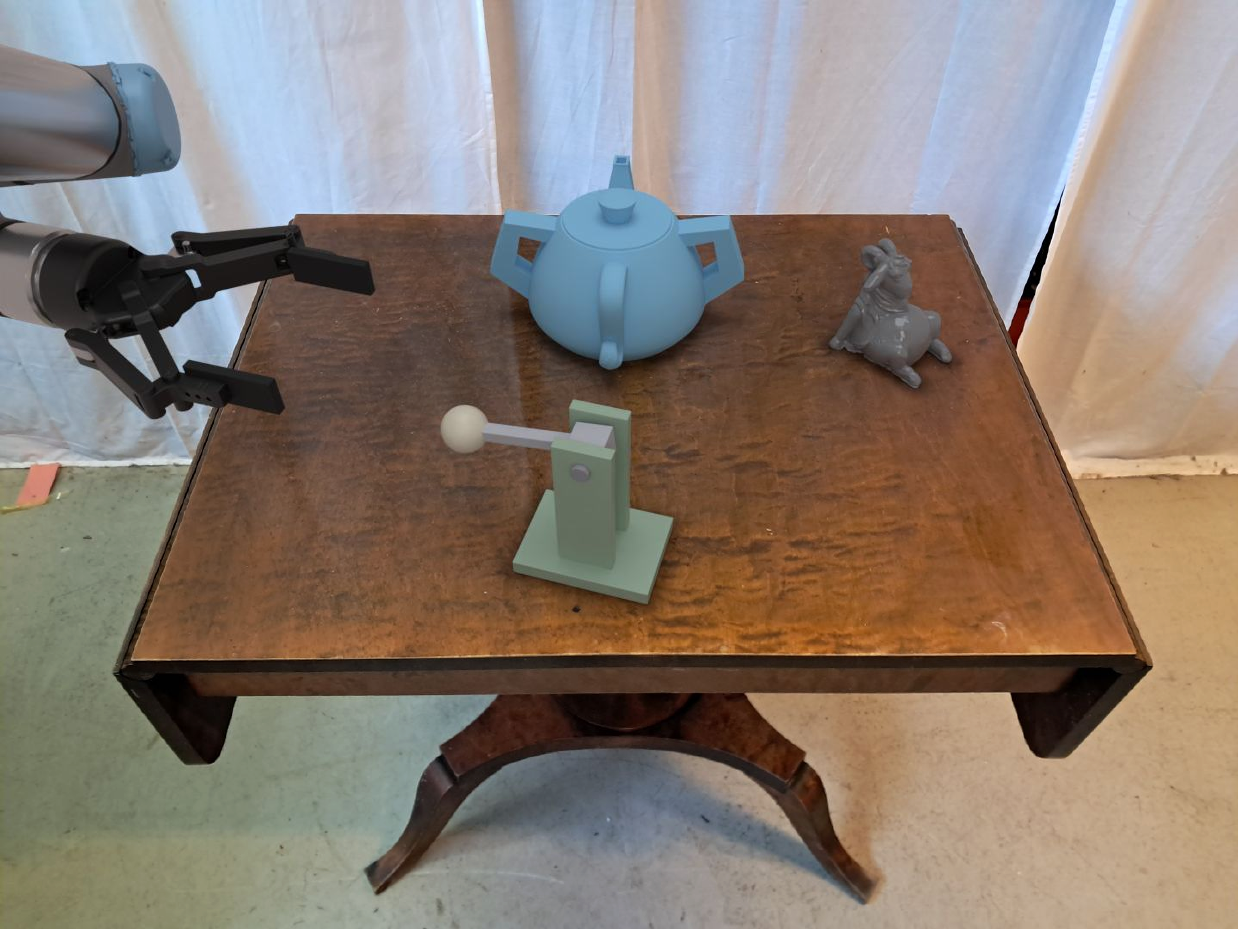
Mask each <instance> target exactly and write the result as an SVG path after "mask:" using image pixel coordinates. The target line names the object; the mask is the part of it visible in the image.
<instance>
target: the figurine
mask: <svg viewBox="0 0 1238 929" xmlns="http://www.w3.org/2000/svg"><path fill="white" fill-rule="evenodd" d="M860 261H861V265H863V266H864V267H865V268H866V269H867V270H868V271H867V273H866V275H865V276H864V278H863V279H862V282H861V288H860V290H859V293H858V295H857V296H856V298H855V299H854V300H853V302H852V304H851V307H850V308H849V310H848V312H847V314H846V317H845V318H844V320H843V322H842V324H841V325H840V326H839V328H838V330H837V331H836V333H835V335H834V336H833V337H832V338H831V339H830V341H829V343H828V346H829V347H830V348H831V349H832V350H833V349H834V350H837V351H838V350H843V349H844V348H845V349H846V350H847V351H848V352H852V353H853V354H856V353H858V354H863V358H865V359H866V360H868V361H869V362H871V363H873V364H875V365H878V366H880V367H882V368H885V369H886V370H888V371H890V372H891V374H893V375H895V376H897V377H899V379H901V380H902V382H904V383H906V384H907V385H908V386H910V387H912V388H913V389H918V388H919V387H920V385H921V383H922V379H921V376H920V375H919V374H918V373H917V372H916V371H915V370H914V368H913V367H912V366H913V365H914V364H915V363H916V362H918V361H919V360H920V359H921V358H922V357H923V356H924V355H925V353H926V352H929V353H930V354H932V355H933V356H934V357H936V358H937V359H938V360H940V361H942V362H943V363H951V361H952V360H953V356H952V353H951V351H950V349H949V348H948V347H947V346H946V344H945V343H944V342H943V341H941V340H940V339H939V336H940V335H941V331H942V325H943V324H942V318H941V315H940V314H939V313H938V312H936V311H933V310H928V309H927V310H926V309H924V310H923V309H922V308H920V306H917V305H915V304H913V303H910V301H909V300H908V299H909V298H910V297H911V296H912V294H913V287H914V285H913V281H912V278H911V268H912V266H911V265H912V262H913V260H912V259H910V258H909V257H906V254H899V253H898V250H897V248H896V245H895V243H894V242H893V241H892V240H891V239H889V238H887V237H886V238H881V239H880V240H878V242H877V244H876V246H875V245H871V244H869V245H865V246H864V247H862V249H861V251H860Z"/></svg>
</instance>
